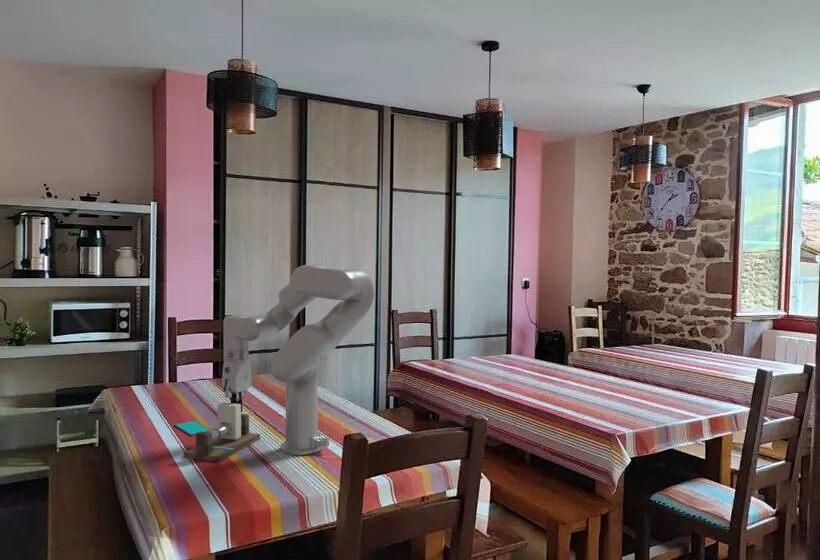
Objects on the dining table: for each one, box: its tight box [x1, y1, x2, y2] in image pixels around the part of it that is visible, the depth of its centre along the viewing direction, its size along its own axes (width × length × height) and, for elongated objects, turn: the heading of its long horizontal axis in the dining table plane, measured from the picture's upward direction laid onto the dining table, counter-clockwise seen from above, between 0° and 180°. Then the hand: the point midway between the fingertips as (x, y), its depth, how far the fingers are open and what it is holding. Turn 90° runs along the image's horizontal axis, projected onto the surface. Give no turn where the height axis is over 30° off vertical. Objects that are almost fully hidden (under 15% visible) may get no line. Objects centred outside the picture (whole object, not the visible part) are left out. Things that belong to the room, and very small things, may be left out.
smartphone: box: [173, 420, 212, 437], centre depth 199 cm, size 7×1×15 cm
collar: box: [217, 402, 242, 439], centre depth 182 cm, size 6×3×10 cm, turn 74°
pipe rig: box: [183, 413, 261, 463], centre depth 180 cm, size 12×22×8 cm, turn 164°
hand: (236, 412), depth 186 cm, fingers closed
